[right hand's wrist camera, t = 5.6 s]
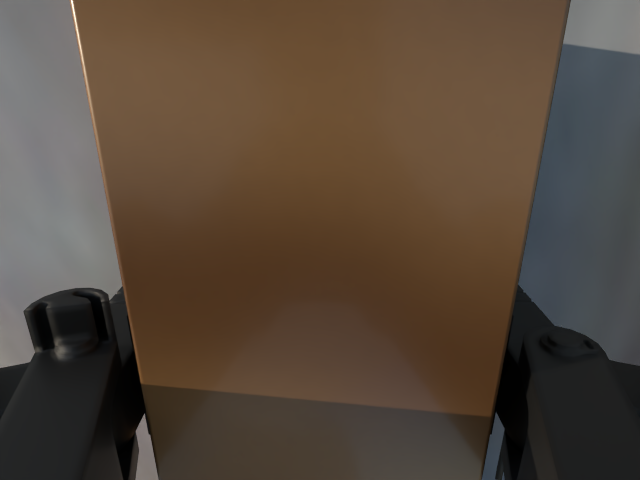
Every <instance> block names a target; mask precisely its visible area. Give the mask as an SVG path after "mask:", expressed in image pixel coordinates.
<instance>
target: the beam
mask: <svg viewBox="0 0 640 480" xmlns="http://www.w3.org/2000/svg"><path fill="white" fill-rule="evenodd" d="M570 2H571V0H70V5H71V10H72V16H73V21H74V26H75V32H76V37H77V43H78V48H79V53H80V59H81V64H82V69H83V75H84V80H85V86H86V91H87V96H88V102H89V107H90V113H91V118H92V123H93V129H94V134H95V139H96V145H97V150H98V156H99V161H100V166H101V172H102V177H103V183H104V188H105V193H106V199H107V204H108V209H109V215H110V220H111V226H112V231H113V236H114V242H115V247H116V252H117V258H118V263H119V269H120V274H121V279H122V285H123V290H124V296H125V301H126V306H127V312H128V317H129V322H130V328H131V333H132V339H133V344H134V349H135V355H136V360H137V365H138V371H139V376H140V382H141V387H142V392H143V398H144V403H145V409H146V414H147V419H148V425H149V430H150V435H151V441H152V446H153V452H154V457H155V462H156V468H157V473H158V478H159V480H482V475H483V470H484V464H485V459H486V453H487V448H488V443H489V437H490V432H491V427H492V421H493V416H494V410H495V405H496V400H497V394H498V389H499V383H500V378H501V373H502V367H503V362H504V357H505V351H506V346H507V340H508V335H509V330H510V324H511V319H512V314H513V308H514V303H515V297H516V292H517V287H518V281H519V276H520V271H521V265H522V260H523V254H524V249H525V244H526V238H527V233H528V227H529V222H530V217H531V211H532V206H533V201H534V195H535V190H536V184H537V179H538V174H539V168H540V163H541V158H542V152H543V147H544V141H545V136H546V131H547V125H548V120H549V115H550V109H551V104H552V98H553V93H554V88H555V82H556V77H557V71H558V66H559V61H560V55H561V50H562V45H563V39H564V34H565V28H566V23H567V18H568V12H569V7H570Z"/></svg>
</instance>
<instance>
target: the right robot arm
mask: <svg viewBox="0 0 640 480" xmlns="http://www.w3.org/2000/svg"><path fill="white" fill-rule="evenodd" d="M24 315H25V318H26V322H27V325H28V329H29V332H30V336H31V339H32V343H33V346H34V350H35V354H34V356H33V358H32V360H31V362H29V363H25V364H20V365H15V366H9V367H4V368H0V480H135V478H136V470H137V462H138V454H139V447H138V441H137V436H136V429H137V427H138V425H139V423H140V421H141V419H142V417H143V415H144V413H145V417H146V422H147V428H148V433H149V434H150V430H149V425H148V419H147V414H146V409H145V403H144V398H143V392H142V387H141V382H140V376H139V371H138V365H137V360H136V355H135V349H134V344H133V339H132V333H131V328H130V322H129V317H128V312H127V306H126V301H125V296H124V290H123V286H122V287H121V289H120V290H119V291H118V292H117V294H115V295H114V297H113V298H112V299H111V300H110V301H109V297H108V294H107V293H105V292H104V291H102V290H99V289H94V288H75V289H69V290H64V291H59V292H56V293H53V294H51V295H48V296H45V297H43V298H41V299H39V300H37V301H35V302H34V303H32V304H31V305H30V306H29V307H27V308H26V309H25V310H24ZM496 412H497V414H498V416H499V418H500V420H501V422H502V424H503V426H504V428H505V431H504V436H503V441H502V446H501V451H500V456H499V461H498V466H497V471H496V477H495V479H496V480H502V475H503V471H504V477H505V480H640V366H636V365H631V364H626V363H620V362H616V361H611V360H609V359H608V357H607V355H606V353H605V351H604V350H603V349H602V348H601V347H600V346H599V344H598V343H596V342H595V341H593V340H592V339H590V338H589V337H587V336H585V335H583V334H581V333H578V332H576V331H573V330H571V329H566V328H562V327H557V326H554V325H553V324H552V323H551V321H550V320H549V319H548V318H547V317H546V316H545V315H544V313H543V312H542V311H541V310H540V309H539V308H538V307H537V306H536V304H535V303H534V302H531V299H530V298H529V296H528V295H527V294H526V293H523V290H522V289H521V287H520V286H519V285H518V287H517V292H516V297H515V303H514V308H513V314H512V319H511V324H510V330H509V335H508V340H507V346H506V351H505V357H504V362H503V367H502V373H501V378H500V383H499V389H498V394H497V400H496V405H495V410H494V416H493V421H492V427H491V432H490V434H492V429H493V424H494V418H495V413H496Z"/></svg>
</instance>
